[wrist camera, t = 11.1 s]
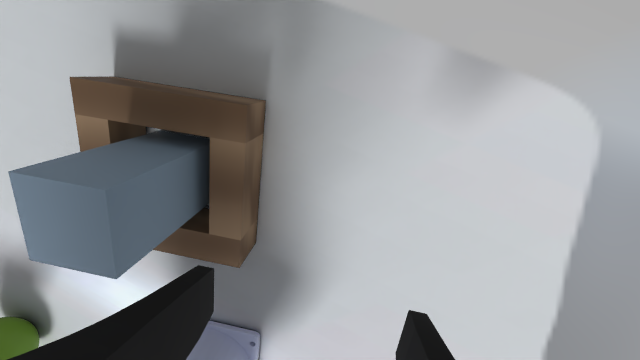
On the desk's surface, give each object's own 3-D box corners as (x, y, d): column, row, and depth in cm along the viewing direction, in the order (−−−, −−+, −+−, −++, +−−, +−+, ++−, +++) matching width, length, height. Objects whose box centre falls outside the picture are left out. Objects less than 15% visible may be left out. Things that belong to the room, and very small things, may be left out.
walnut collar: (255, 242, 22) (239, 267, 19) (127, 216, 22) (93, 236, 20) (265, 100, 18) (247, 105, 15) (113, 76, 19) (69, 77, 16)
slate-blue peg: (217, 196, 21) (116, 279, 12) (163, 186, 21) (29, 260, 13) (218, 140, 19) (105, 190, 11) (160, 130, 20) (8, 171, 11)
